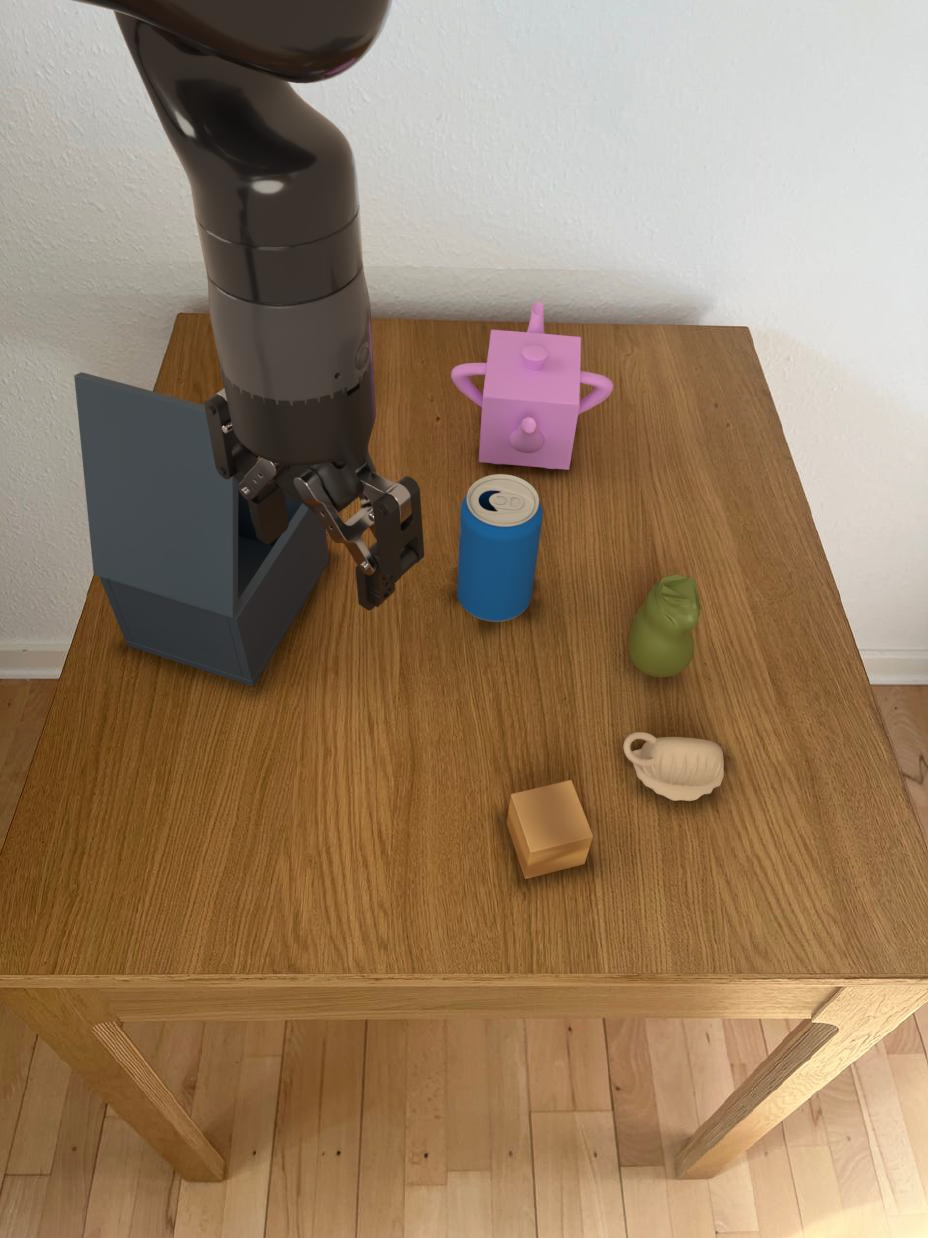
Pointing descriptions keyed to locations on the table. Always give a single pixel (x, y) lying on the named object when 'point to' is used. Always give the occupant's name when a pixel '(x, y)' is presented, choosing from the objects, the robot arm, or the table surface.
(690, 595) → the olive green lumpy piece
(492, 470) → the table surface
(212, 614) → the chest
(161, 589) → the lid
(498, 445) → the teapot
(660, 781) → the decorative ornament
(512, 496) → the beverage can
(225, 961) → the table surface
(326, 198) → the robot arm
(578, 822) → the block
